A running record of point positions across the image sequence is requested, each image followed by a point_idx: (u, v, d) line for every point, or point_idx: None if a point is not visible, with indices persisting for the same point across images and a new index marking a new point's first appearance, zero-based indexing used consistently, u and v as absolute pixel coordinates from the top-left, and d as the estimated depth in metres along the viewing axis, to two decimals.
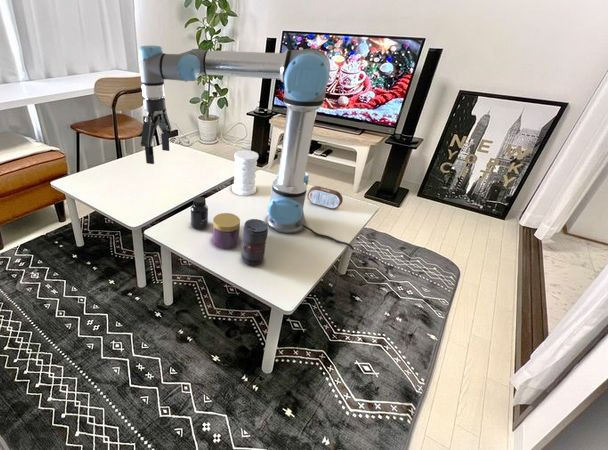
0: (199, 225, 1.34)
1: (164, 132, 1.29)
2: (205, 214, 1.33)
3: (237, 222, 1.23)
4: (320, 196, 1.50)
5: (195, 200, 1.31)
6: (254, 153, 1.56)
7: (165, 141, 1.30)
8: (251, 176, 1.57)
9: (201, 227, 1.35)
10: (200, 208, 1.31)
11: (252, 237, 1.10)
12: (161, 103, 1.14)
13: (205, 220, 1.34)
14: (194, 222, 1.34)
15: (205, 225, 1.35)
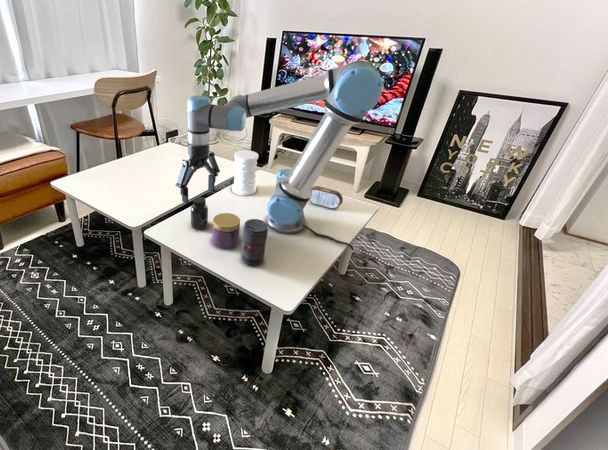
0: (199, 225, 1.34)
1: (211, 174, 1.31)
2: (205, 214, 1.33)
3: (237, 222, 1.23)
4: (320, 196, 1.50)
5: (195, 200, 1.31)
6: (254, 153, 1.56)
7: (211, 182, 1.32)
8: (251, 176, 1.57)
9: (201, 227, 1.35)
10: (200, 208, 1.31)
11: (252, 237, 1.10)
12: (201, 150, 1.17)
13: (205, 220, 1.34)
14: (194, 222, 1.34)
15: (205, 225, 1.35)
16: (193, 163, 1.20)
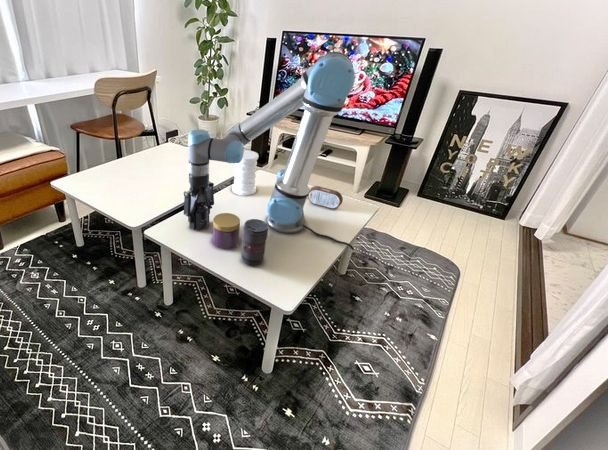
0: (199, 225, 1.34)
1: None
2: (205, 214, 1.33)
3: (237, 222, 1.23)
4: (320, 196, 1.50)
5: None
6: (254, 153, 1.56)
7: None
8: (251, 176, 1.57)
9: (201, 227, 1.35)
10: (200, 208, 1.31)
11: (252, 237, 1.10)
12: (202, 180, 1.23)
13: (205, 220, 1.34)
14: None
15: (205, 225, 1.35)
16: (194, 192, 1.26)
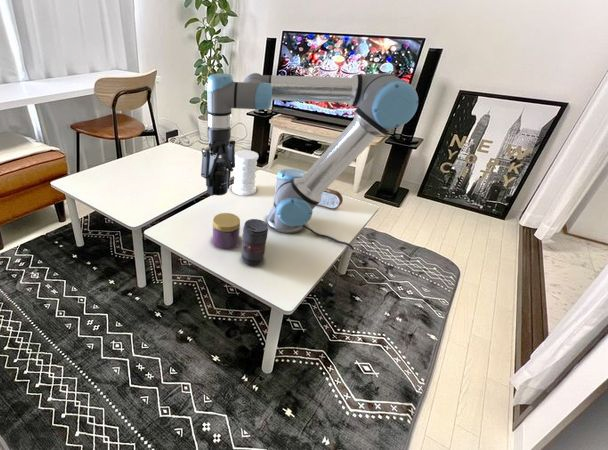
0: (218, 190, 1.18)
1: None
2: (225, 176, 1.16)
3: (237, 222, 1.23)
4: None
5: None
6: (254, 153, 1.56)
7: None
8: (251, 176, 1.57)
9: (220, 192, 1.18)
10: (220, 169, 1.15)
11: (252, 237, 1.10)
12: (223, 134, 1.07)
13: (225, 184, 1.17)
14: None
15: (225, 190, 1.19)
16: (213, 149, 1.10)
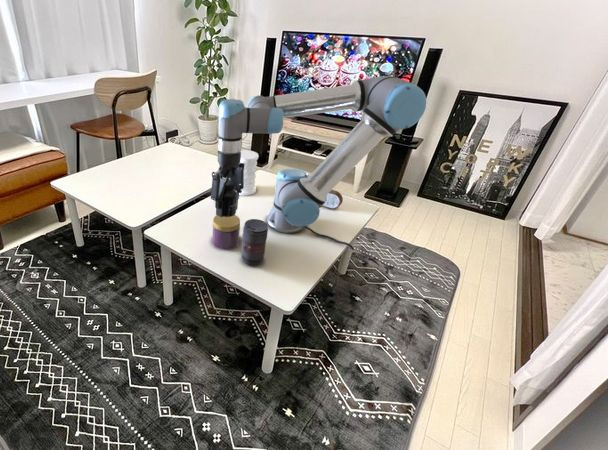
0: (227, 211, 1.18)
1: None
2: (234, 199, 1.17)
3: (237, 222, 1.23)
4: None
5: None
6: (254, 153, 1.56)
7: None
8: (251, 176, 1.57)
9: (229, 214, 1.19)
10: (229, 192, 1.15)
11: (252, 237, 1.10)
12: (233, 159, 1.07)
13: (234, 206, 1.18)
14: None
15: (234, 212, 1.20)
16: (223, 172, 1.10)
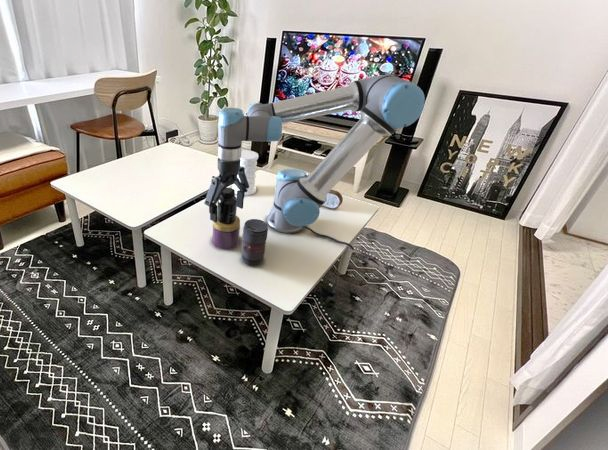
0: (227, 219, 1.20)
1: (240, 190, 1.23)
2: (234, 206, 1.18)
3: (237, 222, 1.23)
4: None
5: (223, 191, 1.17)
6: (254, 153, 1.56)
7: (239, 199, 1.24)
8: (251, 176, 1.57)
9: (229, 221, 1.21)
10: (229, 200, 1.17)
11: (252, 237, 1.10)
12: (233, 166, 1.09)
13: (234, 213, 1.20)
14: (221, 216, 1.20)
15: (233, 219, 1.21)
16: (223, 180, 1.12)
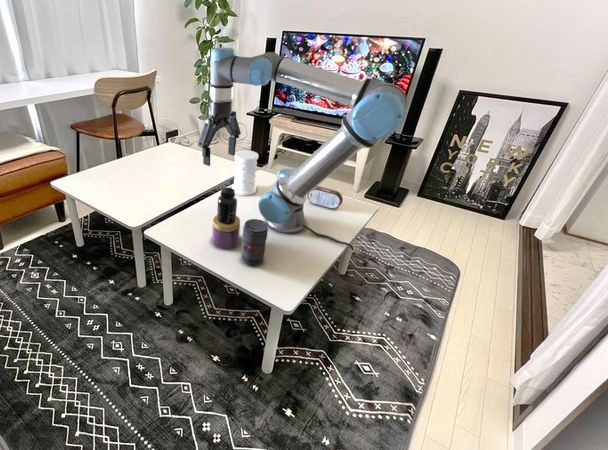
0: (227, 219, 1.20)
1: (232, 136, 1.26)
2: (234, 206, 1.18)
3: (237, 222, 1.23)
4: (320, 196, 1.50)
5: (223, 191, 1.17)
6: (254, 153, 1.56)
7: (231, 145, 1.27)
8: (251, 176, 1.57)
9: (229, 221, 1.21)
10: (229, 200, 1.17)
11: (252, 237, 1.10)
12: (225, 107, 1.12)
13: (234, 213, 1.20)
14: (221, 216, 1.20)
15: (233, 219, 1.21)
16: (216, 121, 1.15)
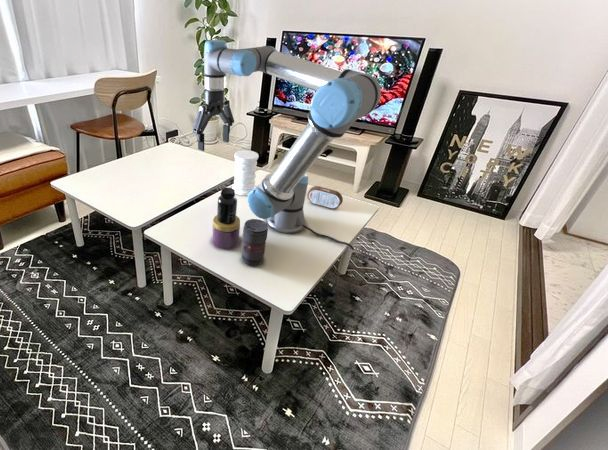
0: (227, 219, 1.20)
1: (226, 124, 1.35)
2: (234, 206, 1.18)
3: (237, 222, 1.23)
4: (320, 196, 1.50)
5: (223, 191, 1.17)
6: (254, 153, 1.56)
7: (225, 133, 1.36)
8: (251, 176, 1.57)
9: (229, 221, 1.21)
10: (229, 200, 1.17)
11: (252, 237, 1.10)
12: (218, 95, 1.20)
13: (234, 213, 1.20)
14: (221, 216, 1.20)
15: (233, 219, 1.21)
16: (209, 109, 1.23)
